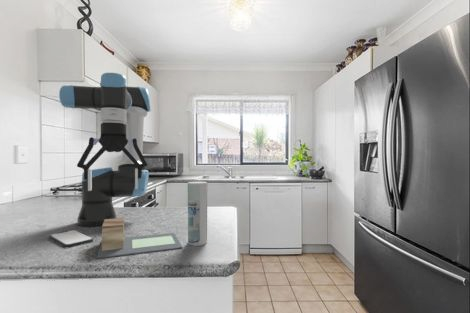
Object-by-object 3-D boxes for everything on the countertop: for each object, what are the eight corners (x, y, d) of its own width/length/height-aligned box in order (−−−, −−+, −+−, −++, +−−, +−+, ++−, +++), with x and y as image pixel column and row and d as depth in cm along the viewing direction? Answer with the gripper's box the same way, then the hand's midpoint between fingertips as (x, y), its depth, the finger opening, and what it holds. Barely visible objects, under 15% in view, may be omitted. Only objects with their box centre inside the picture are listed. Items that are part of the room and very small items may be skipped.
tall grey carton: (183, 242, 91) (183, 182, 90) (198, 238, 95) (198, 181, 95) (196, 247, 86) (196, 183, 86) (211, 242, 91) (211, 182, 91)
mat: (101, 241, 92) (101, 239, 92) (173, 233, 101) (173, 232, 101) (96, 258, 76) (96, 257, 76) (182, 248, 85) (182, 246, 85)
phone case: (94, 243, 92) (75, 233, 102) (94, 238, 92) (75, 229, 102) (65, 250, 85) (47, 239, 95) (65, 245, 85) (47, 234, 95)
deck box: (104, 240, 91) (104, 219, 91) (124, 238, 93) (124, 217, 93) (102, 250, 82) (102, 226, 82) (123, 248, 84) (123, 224, 84)
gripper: (66, 119, 79) (66, 192, 79) (155, 123, 89) (155, 189, 89) (71, 122, 86) (71, 189, 86) (153, 125, 95) (153, 186, 96)
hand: (113, 189), depth 87 cm, fingers open, 13 cm apart
